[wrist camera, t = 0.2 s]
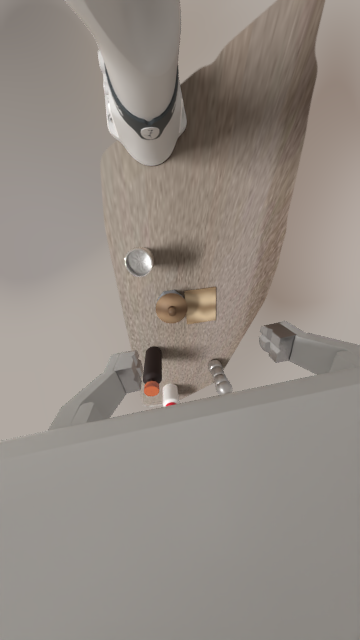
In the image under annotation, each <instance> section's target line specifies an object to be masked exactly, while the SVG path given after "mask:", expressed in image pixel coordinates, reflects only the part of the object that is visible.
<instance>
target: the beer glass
mask: <svg viewBox="0 0 360 640" xmlns="http://www.w3.org/2000/svg"><path fill="white" fill-rule="evenodd" d="M125 266H126V268H127V270H128V271H129V273H131V274H132V275H134V276H136V277H144V276H146V275H148V274H149V273H150V272H151V270H152V269H153V266H154V257H153V253H152V252H151V251H150V250H149V249H148V248H145V247H136V248H133V249H132V250H130V251H129V252H128V253H127V255H126V257H125Z"/></svg>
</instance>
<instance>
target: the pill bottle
mask: <svg viewBox="0 0 360 640" xmlns="http://www.w3.org/2000/svg"><path fill="white" fill-rule="evenodd" d="M175 404H179V396H178V388H177V386H176V385H175V384H167V385H165V386H164V387H163V406H164V407H165V406H170V405H175Z"/></svg>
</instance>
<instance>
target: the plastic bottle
mask: <svg viewBox="0 0 360 640" xmlns="http://www.w3.org/2000/svg"><path fill="white" fill-rule="evenodd" d="M208 369H209V371H210V373H211V374H212V376H213V379H214V382H215V386H216V390H217V392H218V394H220V395H223V394H228V393H232V385H231V384H230V382H229V381H228V379H227V378H226V376H225V374H224V371H223V368H222V365H221V363H220V362H219V361H218V360H212V361H210V362H209V363H208Z"/></svg>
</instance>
